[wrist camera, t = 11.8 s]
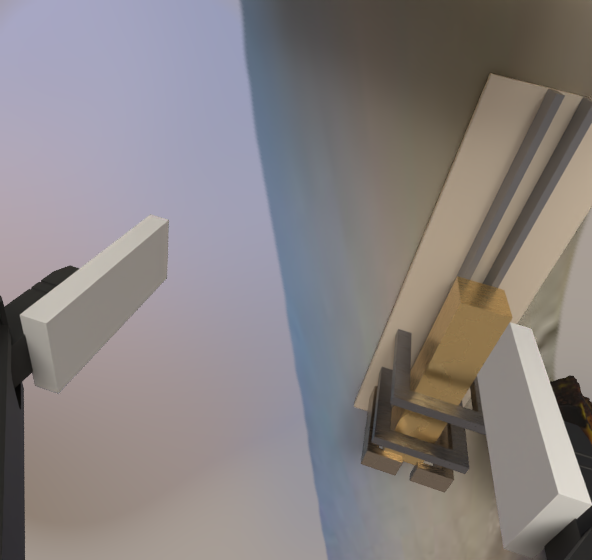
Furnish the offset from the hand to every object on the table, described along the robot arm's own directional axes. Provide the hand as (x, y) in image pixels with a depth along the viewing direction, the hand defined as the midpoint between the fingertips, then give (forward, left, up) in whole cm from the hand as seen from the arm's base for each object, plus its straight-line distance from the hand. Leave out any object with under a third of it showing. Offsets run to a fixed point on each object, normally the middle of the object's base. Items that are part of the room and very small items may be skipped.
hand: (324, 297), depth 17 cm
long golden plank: (+21, +13, -24) cm, 34 cm away
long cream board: (+13, +13, -27) cm, 33 cm away
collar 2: (+26, +13, -27) cm, 39 cm away
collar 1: (+20, +13, -27) cm, 36 cm away
